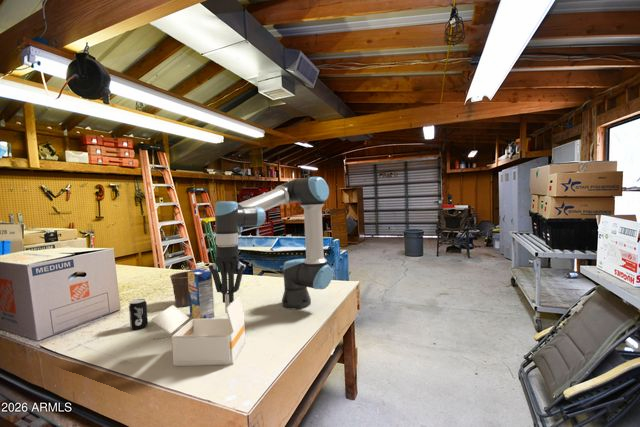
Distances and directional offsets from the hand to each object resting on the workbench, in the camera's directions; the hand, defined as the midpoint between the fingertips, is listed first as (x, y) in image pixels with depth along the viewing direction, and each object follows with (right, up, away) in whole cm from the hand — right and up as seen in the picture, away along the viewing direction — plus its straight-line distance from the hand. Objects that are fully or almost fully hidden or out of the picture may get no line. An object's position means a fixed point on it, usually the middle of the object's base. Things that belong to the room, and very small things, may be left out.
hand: (228, 311), depth 99 cm
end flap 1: (-17, -6, +1) cm, 18 cm away
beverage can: (-48, -17, +26) cm, 57 cm away
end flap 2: (+4, -5, 0) cm, 6 cm away
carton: (-6, -15, +1) cm, 17 cm away
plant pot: (-41, -15, +56) cm, 71 cm away
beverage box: (-24, -15, +35) cm, 45 cm away
